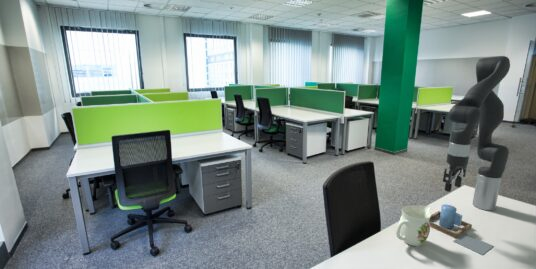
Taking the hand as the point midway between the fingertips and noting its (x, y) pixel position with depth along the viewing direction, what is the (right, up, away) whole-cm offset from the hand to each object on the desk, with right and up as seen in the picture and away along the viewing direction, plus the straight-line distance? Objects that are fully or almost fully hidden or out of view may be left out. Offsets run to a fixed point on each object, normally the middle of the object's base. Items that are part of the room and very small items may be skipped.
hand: (452, 188), depth 116 cm
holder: (0, -17, +4) cm, 18 cm away
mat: (+2, -20, -9) cm, 22 cm away
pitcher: (-22, -20, -7) cm, 31 cm away
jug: (+1, -18, +3) cm, 18 cm away
